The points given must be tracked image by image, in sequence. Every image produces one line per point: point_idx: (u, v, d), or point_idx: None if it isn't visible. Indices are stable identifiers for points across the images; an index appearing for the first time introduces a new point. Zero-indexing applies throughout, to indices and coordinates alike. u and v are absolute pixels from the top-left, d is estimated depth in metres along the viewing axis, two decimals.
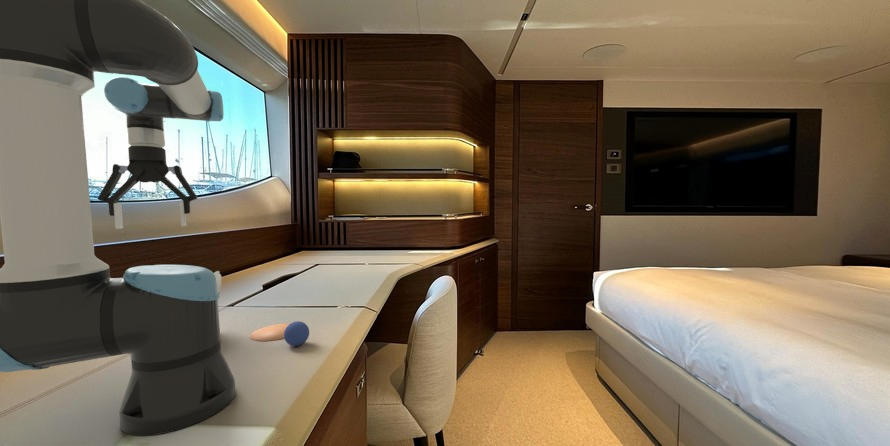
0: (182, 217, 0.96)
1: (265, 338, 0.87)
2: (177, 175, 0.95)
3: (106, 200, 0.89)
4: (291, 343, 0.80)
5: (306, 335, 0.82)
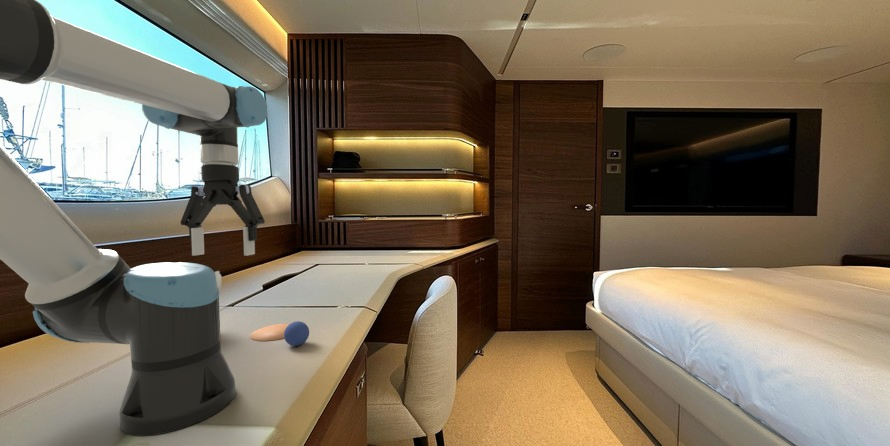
0: (245, 245, 0.81)
1: (265, 338, 0.87)
2: (241, 196, 0.81)
3: None
4: (291, 343, 0.80)
5: (306, 335, 0.82)
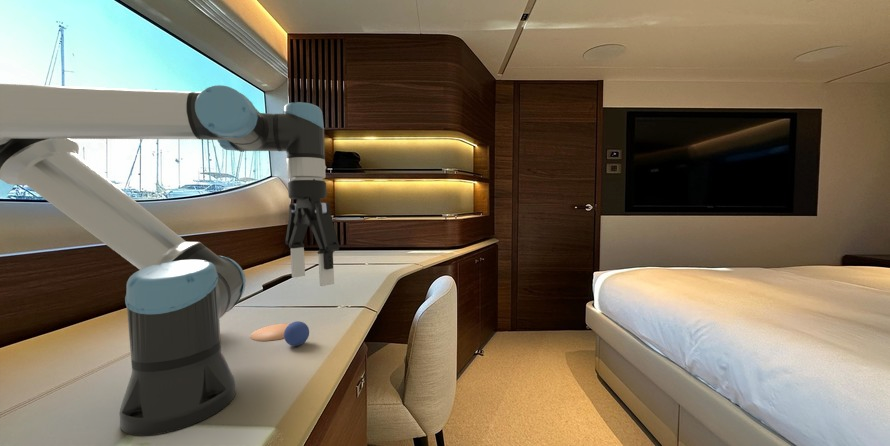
0: (320, 274, 0.70)
1: (265, 338, 0.87)
2: (317, 216, 0.69)
3: None
4: (291, 343, 0.80)
5: (306, 335, 0.82)
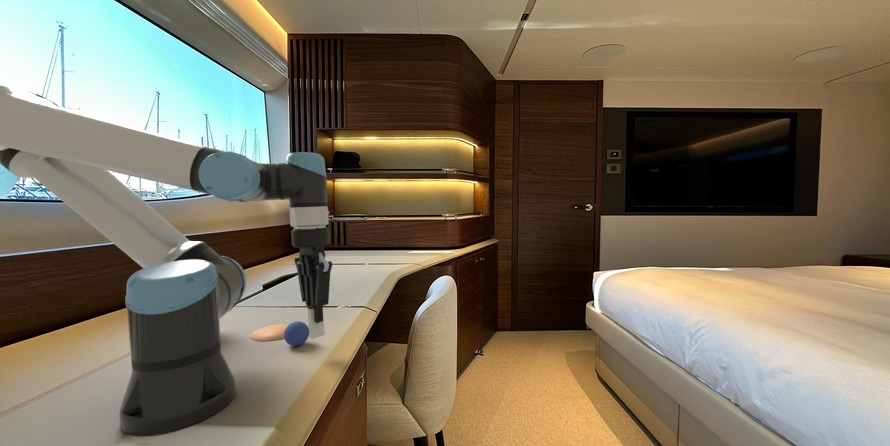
0: (311, 327, 0.75)
1: (265, 338, 0.87)
2: (317, 273, 0.71)
3: None
4: (291, 343, 0.80)
5: (306, 335, 0.82)
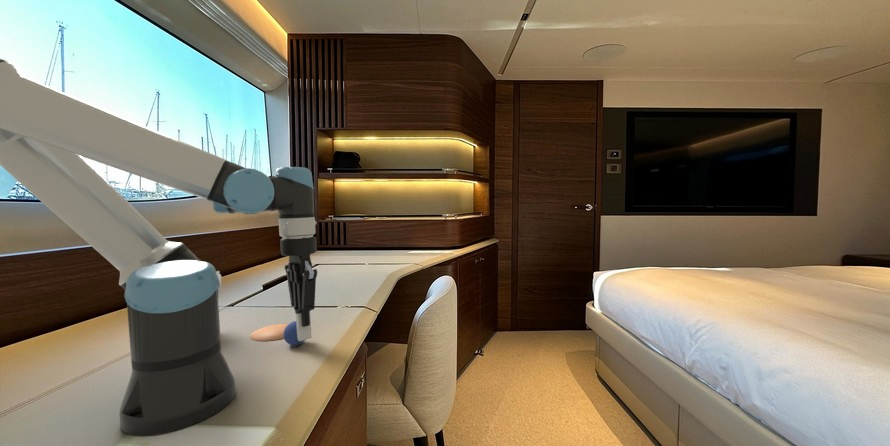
0: (298, 330, 0.80)
1: (265, 338, 0.87)
2: (303, 280, 0.76)
3: None
4: (291, 342, 0.81)
5: None
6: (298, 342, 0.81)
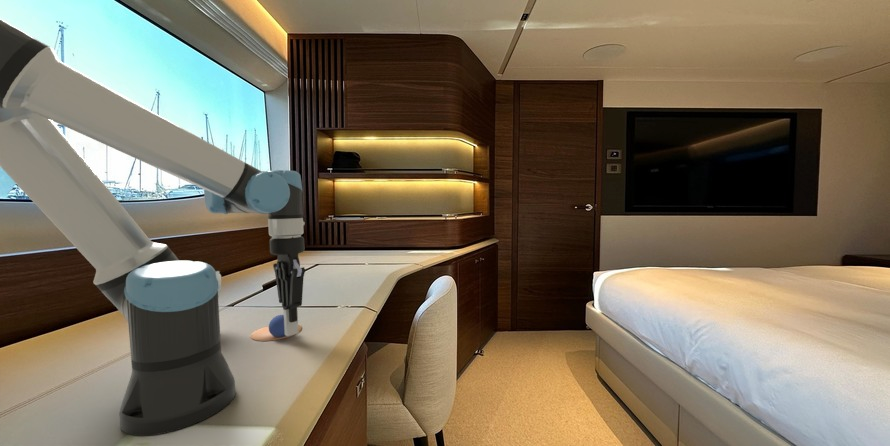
0: (286, 326, 0.83)
1: (265, 338, 0.87)
2: (291, 278, 0.80)
3: None
4: (273, 324, 0.86)
5: None
6: (278, 319, 0.86)
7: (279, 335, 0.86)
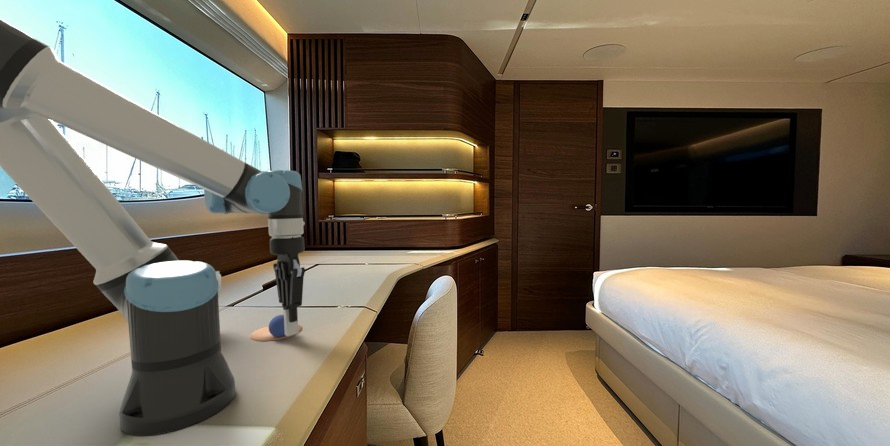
0: (286, 326, 0.83)
1: (265, 338, 0.87)
2: (291, 278, 0.80)
3: None
4: (273, 324, 0.86)
5: None
6: (278, 319, 0.86)
7: (279, 335, 0.86)
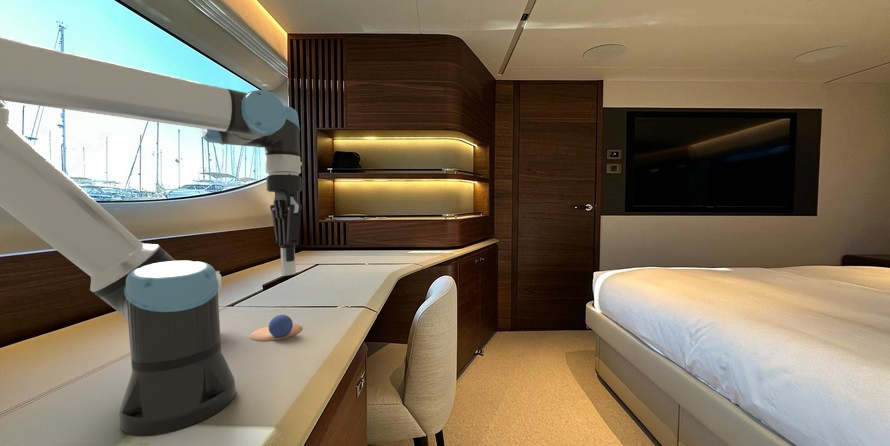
0: (283, 265, 0.83)
1: (265, 338, 0.87)
2: (288, 214, 0.79)
3: None
4: (273, 324, 0.86)
5: None
6: (278, 319, 0.86)
7: (279, 335, 0.86)
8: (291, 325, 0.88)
